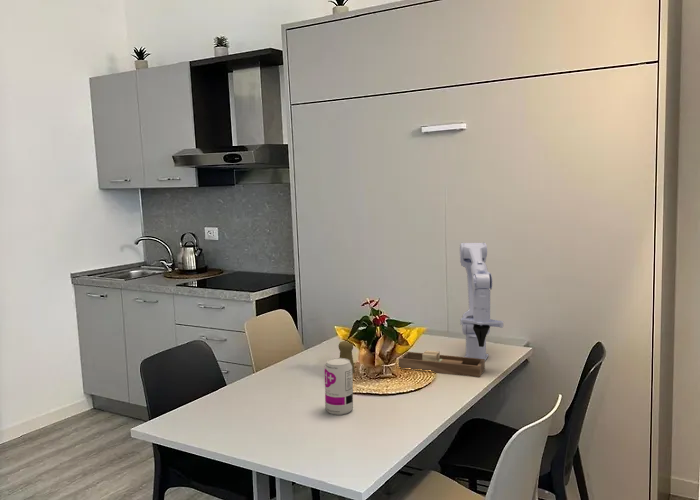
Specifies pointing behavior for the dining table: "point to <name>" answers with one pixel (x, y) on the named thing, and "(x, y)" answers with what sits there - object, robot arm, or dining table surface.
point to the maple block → (431, 356)
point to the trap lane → (444, 364)
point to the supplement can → (338, 386)
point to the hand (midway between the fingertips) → (481, 346)
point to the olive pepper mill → (346, 352)
